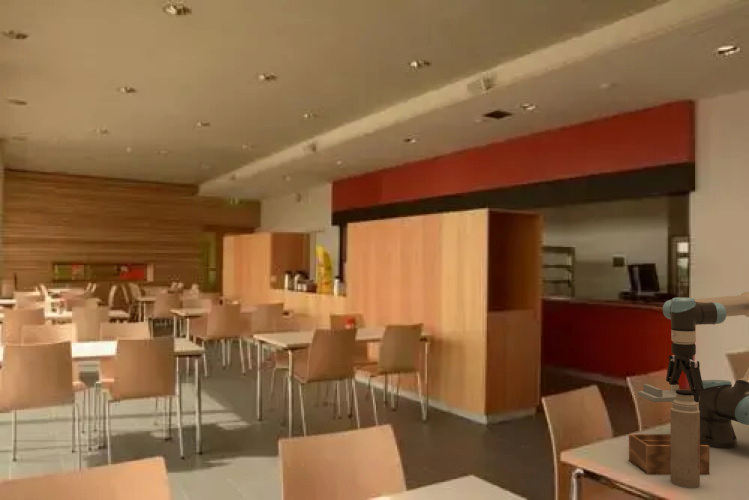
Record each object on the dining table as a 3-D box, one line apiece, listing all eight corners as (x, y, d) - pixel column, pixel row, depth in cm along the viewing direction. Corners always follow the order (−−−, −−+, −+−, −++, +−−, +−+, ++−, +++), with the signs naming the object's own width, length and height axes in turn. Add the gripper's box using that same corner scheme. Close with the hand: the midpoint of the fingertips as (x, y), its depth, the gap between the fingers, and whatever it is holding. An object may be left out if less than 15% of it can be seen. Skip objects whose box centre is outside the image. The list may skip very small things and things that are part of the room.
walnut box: (687, 461, 206) (687, 434, 206) (709, 474, 193) (709, 445, 193) (628, 461, 206) (628, 434, 206) (647, 474, 193) (647, 445, 193)
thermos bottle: (700, 481, 187) (700, 390, 187) (698, 490, 180) (698, 394, 180) (672, 476, 191) (672, 387, 191) (668, 484, 184) (669, 391, 185)
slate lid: (681, 393, 215) (680, 382, 215) (699, 400, 205) (699, 388, 205) (637, 395, 213) (637, 383, 213) (654, 402, 203) (654, 390, 203)
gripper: (654, 338, 221) (655, 399, 220) (693, 347, 198) (694, 416, 198) (674, 338, 221) (675, 399, 221) (715, 347, 199) (716, 415, 198)
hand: (684, 407), depth 209 cm, fingers closed on slate lid, 10 cm apart
